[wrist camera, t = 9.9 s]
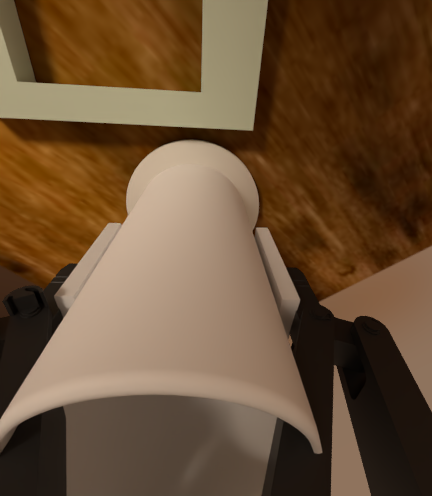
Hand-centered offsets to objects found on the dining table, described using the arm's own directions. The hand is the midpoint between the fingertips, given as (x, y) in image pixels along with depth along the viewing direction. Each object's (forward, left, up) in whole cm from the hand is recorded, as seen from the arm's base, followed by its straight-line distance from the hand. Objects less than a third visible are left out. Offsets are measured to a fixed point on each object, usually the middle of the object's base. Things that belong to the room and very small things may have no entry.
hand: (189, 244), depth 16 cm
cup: (0, 0, -5) cm, 5 cm away
